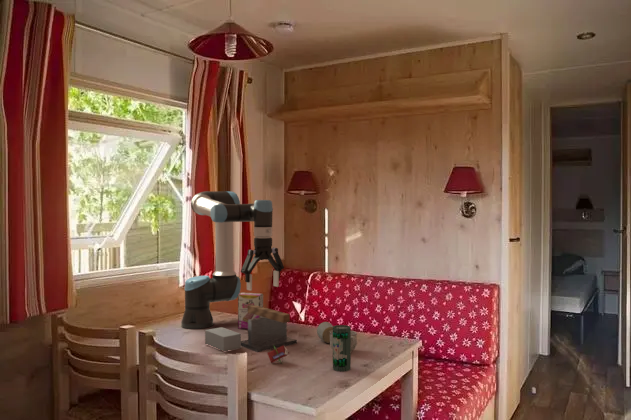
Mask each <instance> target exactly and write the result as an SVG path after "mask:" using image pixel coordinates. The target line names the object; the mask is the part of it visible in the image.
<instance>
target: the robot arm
mask: <svg viewBox="0 0 631 420" xmlns="http://www.w3.org/2000/svg"><path fill="white" fill-rule="evenodd" d="M190 206H191V210H192V211H193V212H194V213H195V214H197V215H200V216H208V217H210V218H211V221H212V222H214V224H215V271H214V272H213V273H212V277H211V278H210V276H209V275H198V276H197V275H196V276H193V277H189V278H187V279H186V280H185V282H184V312H183V315H182V319H181V321H180V323H181V324H180V325H181V326H180V327H182V328H183V329H191V330H192V329H194V330H195V329H206V328H210V327H213V325H214V317H213V315H212V311H211V309H210V305H211V303H217V302H219V303H220V302H230V301H234V300H235V301H236V300H237V299H238V294H240V293H241V289H242V288H241V287H242V285H241V284H242V283H241V279H240V277H239V276H237V273H236V271H234V223H237V222H239V223H244V222H249V223H250V222H252V223H253V236H254V238H253V247H254V249H248V250H247V254H246V257H245V260H244V262H243V265H242V267H241V270H240V273H242V274H244V280H245V283H246V290H247V291H249V292H251V291H253V274H252V272H253V271H254V269H255V267H256V266H257V264H258V263H259V262H260V261H263V260H265V261H268V262H269V263H270V265H271V267H273V268H274V270H273V273H272V275H273V277H272V279H273V283H272V286H273V287H275V288H276V287H277V288H278V287H279V285H280V284H279V283H280V282H279V281H280V278H281V272H282V271H283V269H284V268H285V266H284V264H283V262H282V259H281V257H280V254H279V248H277V247H273V238H272V236H273V213H274V212H273V210H274V208H273V201H272V200H270V199H256V200H254V203H241V202H240V197H239V196H238V194H237V193H236V192H234V191H228V190H224V191H215V190H214V191H209V190H208V191H200V192H198V193H196V194H195V195H194V196H193V197H192V199H191V202H190Z"/></svg>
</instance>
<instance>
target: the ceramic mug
mask: <svg viewBox="0 0 631 420" xmlns="http://www.w3.org/2000/svg"><path fill="white" fill-rule="evenodd" d="M333 326H334V325H332V323H330V322H328V321H323V322H321V323H319V325H318V326H317V329H316V334H317V336H318V338H319V339H321V340H322V341H323V342H325V343H326V344H330V331H332V330H333Z"/></svg>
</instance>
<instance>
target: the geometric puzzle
mask: <svg viewBox="0 0 631 420" xmlns="http://www.w3.org/2000/svg"><path fill="white" fill-rule="evenodd" d="M273 346H274V349H270V350H268V351H267V352H266V353H267V357H268V358H269V361H270V364H274V363H275V362H278V363H277V364H278V365H279V363H280V365H283V363H284V358H286V357H287V356H288V355H289V354H288V353H289V352H288V349H287V347H286V346H284V345H282V346H281V347H279V348H276V347H275V345H273ZM273 346H272V347H273ZM281 360H282V361H281Z"/></svg>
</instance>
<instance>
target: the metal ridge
mask: <svg viewBox="0 0 631 420" xmlns="http://www.w3.org/2000/svg"><path fill="white" fill-rule="evenodd" d="M287 324H288V322H285V323H282V322H279V321H275V320H272V319H269V318H265V317H260V318H254V319H248V329H247V339H245V340H244V339H243V340H241V348H242V347H243V348H245V349H247V350H250V351H253V352H255V353H261V352H264V351H271V350H272V349H273V350H275V348H274V346H273V345H275V347H276V349H277V348H279V347H281V346H282V345H284V346H285V347H286V346H292V345H296V344H298V339H295V338H292V337H288V336H287V335H288V333H287V331H288V326H287ZM272 346H273V347H272Z"/></svg>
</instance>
